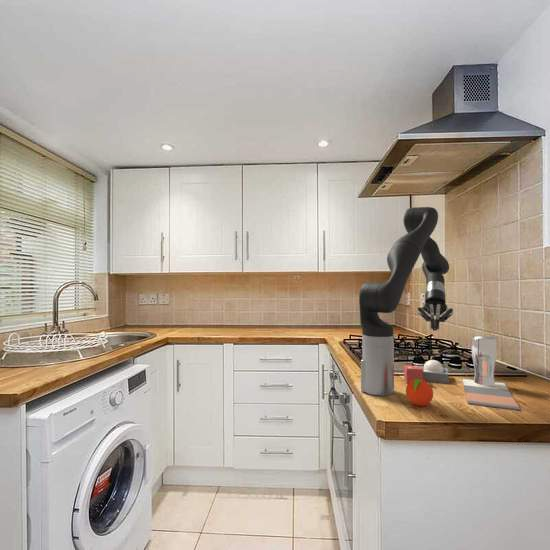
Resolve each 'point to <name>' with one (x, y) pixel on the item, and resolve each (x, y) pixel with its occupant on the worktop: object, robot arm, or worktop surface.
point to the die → (412, 373)
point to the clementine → (419, 392)
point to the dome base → (436, 376)
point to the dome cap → (433, 366)
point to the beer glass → (484, 360)
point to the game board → (489, 395)
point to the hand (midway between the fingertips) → (435, 329)
